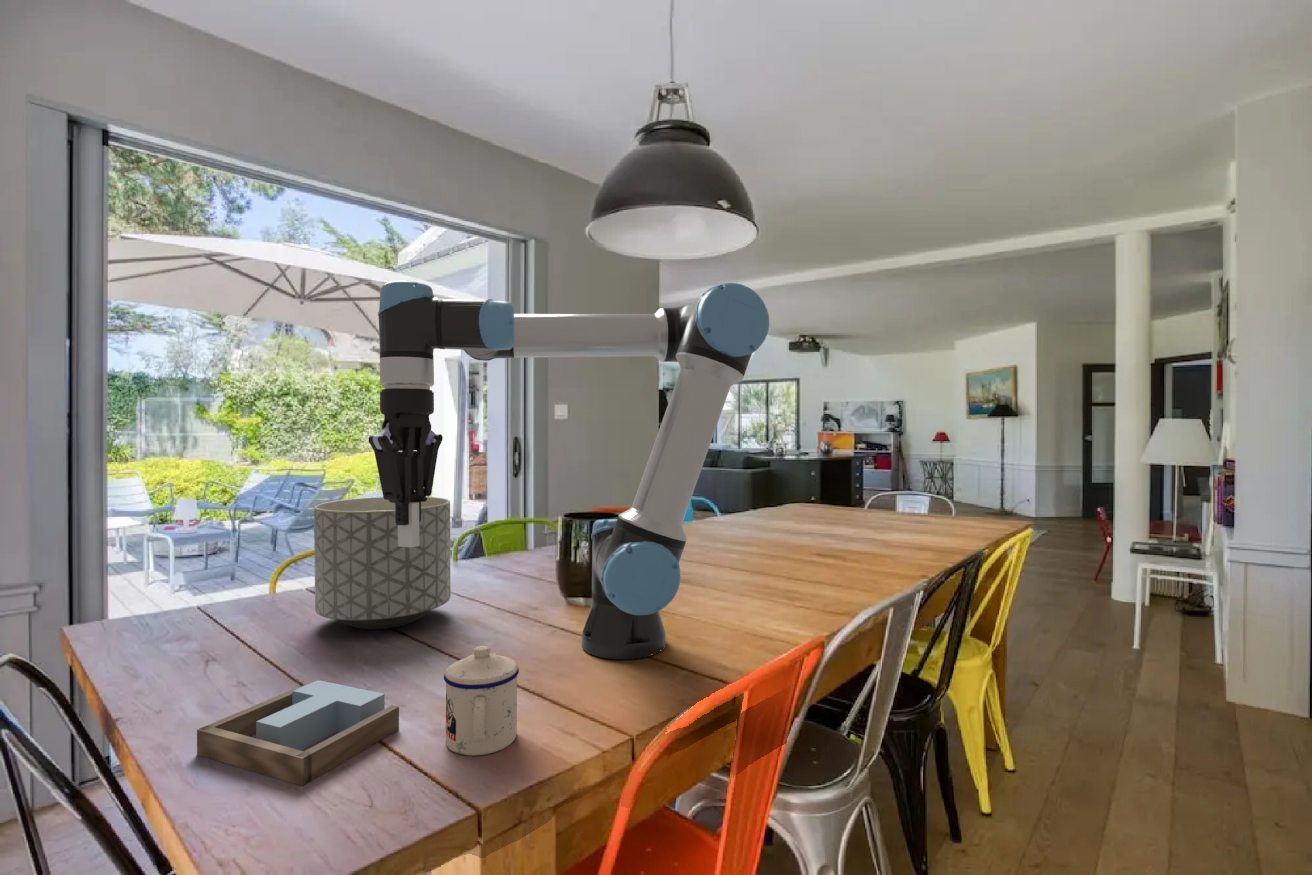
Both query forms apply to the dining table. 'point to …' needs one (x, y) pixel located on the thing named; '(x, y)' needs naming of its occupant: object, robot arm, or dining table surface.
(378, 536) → the planter
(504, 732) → the teacup with lid
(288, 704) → the frame
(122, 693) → the dining table surface
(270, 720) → the t block
